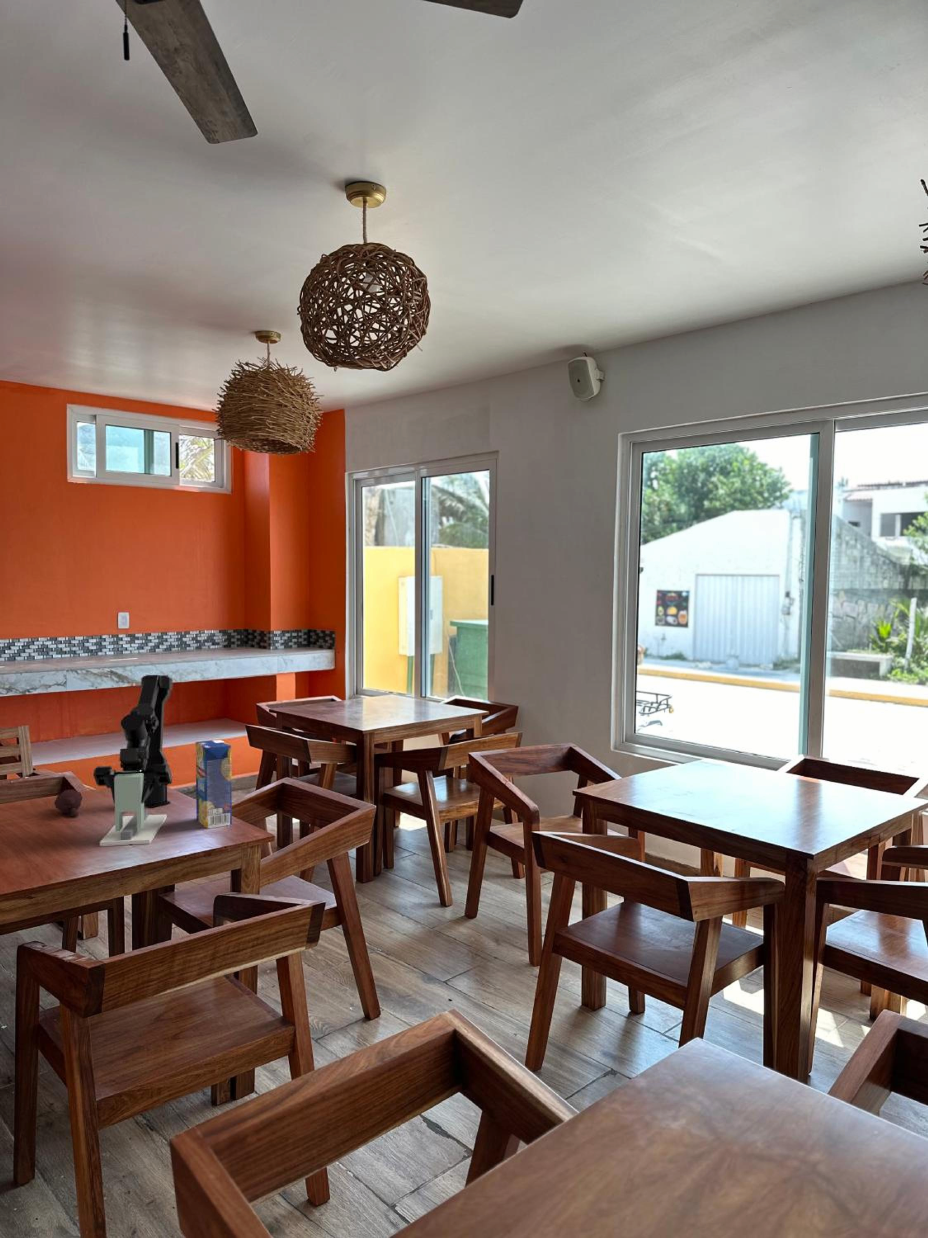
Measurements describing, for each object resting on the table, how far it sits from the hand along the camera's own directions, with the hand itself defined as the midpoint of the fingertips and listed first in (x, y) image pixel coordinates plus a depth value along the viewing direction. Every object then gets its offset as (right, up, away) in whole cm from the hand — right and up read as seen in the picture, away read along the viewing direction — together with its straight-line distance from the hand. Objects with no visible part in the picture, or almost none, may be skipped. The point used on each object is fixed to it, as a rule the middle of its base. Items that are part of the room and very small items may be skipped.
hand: (128, 803), depth 214 cm
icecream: (-28, -9, +26) cm, 39 cm away
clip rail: (-1, -9, +8) cm, 12 cm away
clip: (0, -7, +2) cm, 7 cm away
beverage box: (+17, -9, +16) cm, 25 cm away
